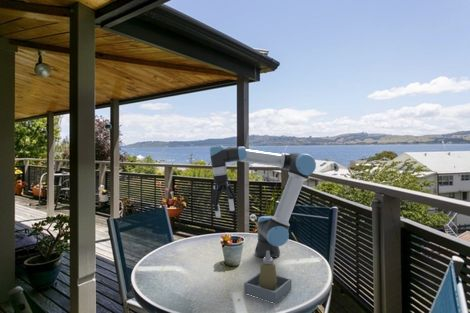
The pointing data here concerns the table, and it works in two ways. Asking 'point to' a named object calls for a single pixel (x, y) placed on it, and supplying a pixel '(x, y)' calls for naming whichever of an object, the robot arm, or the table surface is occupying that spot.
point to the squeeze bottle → (268, 273)
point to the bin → (274, 296)
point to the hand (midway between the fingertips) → (225, 213)
